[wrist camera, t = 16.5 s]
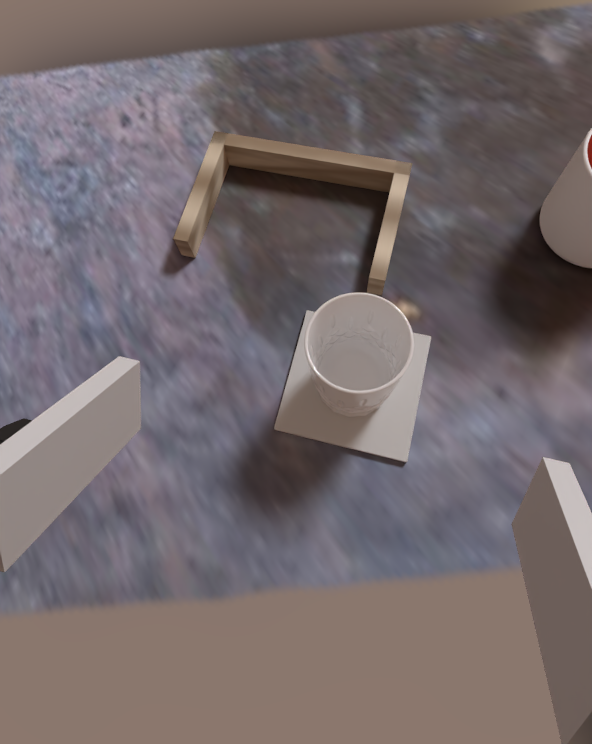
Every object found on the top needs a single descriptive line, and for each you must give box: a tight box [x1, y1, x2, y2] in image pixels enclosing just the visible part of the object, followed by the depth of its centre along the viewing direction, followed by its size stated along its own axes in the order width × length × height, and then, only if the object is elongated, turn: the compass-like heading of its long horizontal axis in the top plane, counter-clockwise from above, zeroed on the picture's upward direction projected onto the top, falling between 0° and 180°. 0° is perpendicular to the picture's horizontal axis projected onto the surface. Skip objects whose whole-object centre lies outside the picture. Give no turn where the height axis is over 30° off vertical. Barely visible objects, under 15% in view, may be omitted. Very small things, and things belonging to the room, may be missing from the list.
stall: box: [173, 131, 412, 296], centre depth 50 cm, size 14×21×3 cm, turn 75°
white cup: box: [304, 293, 414, 417], centre depth 40 cm, size 8×8×10 cm
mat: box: [274, 310, 431, 463], centre depth 45 cm, size 12×12×1 cm
